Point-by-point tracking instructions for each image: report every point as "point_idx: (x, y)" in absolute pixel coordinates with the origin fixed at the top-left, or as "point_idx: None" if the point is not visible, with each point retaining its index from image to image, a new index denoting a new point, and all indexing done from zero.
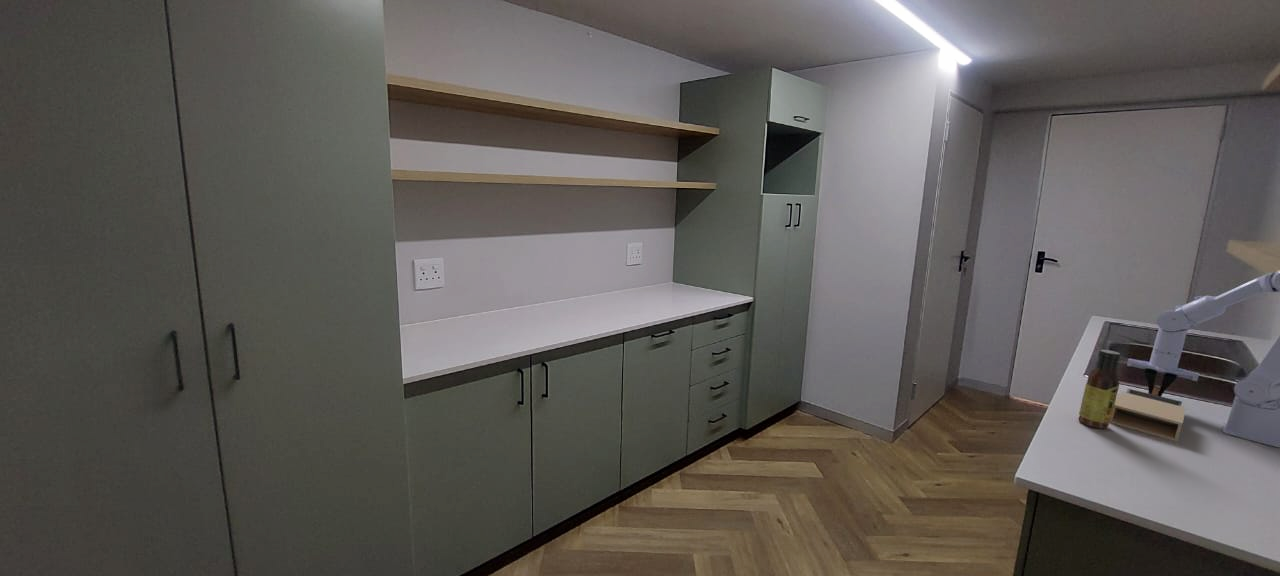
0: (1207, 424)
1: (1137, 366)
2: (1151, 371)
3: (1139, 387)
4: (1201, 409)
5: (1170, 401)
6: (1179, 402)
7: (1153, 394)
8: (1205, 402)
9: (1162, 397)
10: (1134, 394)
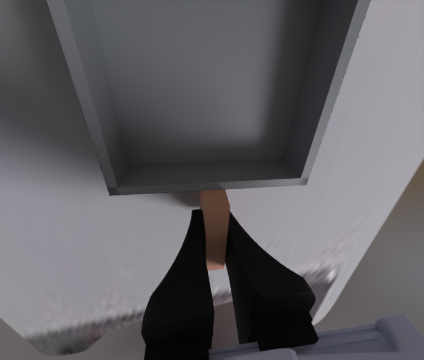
0: (22, 135)
1: (356, 335)
2: (281, 328)
3: None
4: (107, 268)
5: (151, 179)
6: (111, 170)
7: (218, 190)
8: (121, 312)
9: (183, 183)
10: (275, 168)
